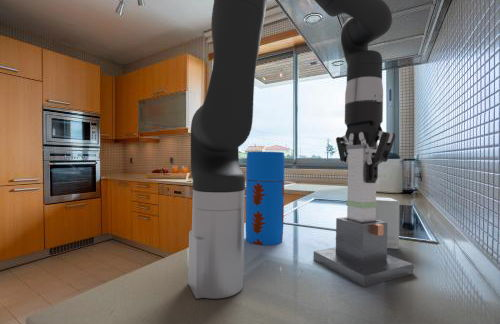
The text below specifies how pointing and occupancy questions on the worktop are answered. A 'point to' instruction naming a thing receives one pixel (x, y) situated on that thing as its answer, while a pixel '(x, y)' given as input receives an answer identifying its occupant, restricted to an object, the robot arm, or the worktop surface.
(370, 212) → the column
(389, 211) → the supplement box
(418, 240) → the worktop surface
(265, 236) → the thermos
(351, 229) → the stand base
